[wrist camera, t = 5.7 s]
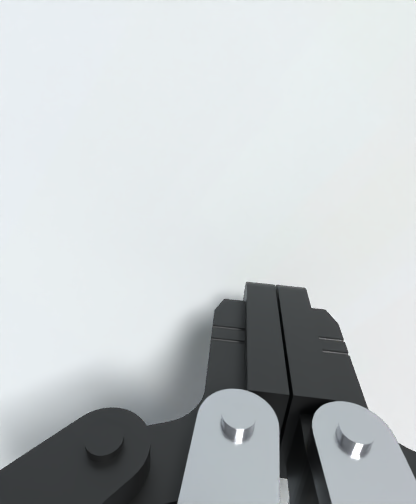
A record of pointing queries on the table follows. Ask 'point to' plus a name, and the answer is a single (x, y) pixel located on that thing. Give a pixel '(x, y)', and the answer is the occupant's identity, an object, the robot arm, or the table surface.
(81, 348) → the table surface
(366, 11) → the table surface
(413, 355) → the table surface
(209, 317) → the table surface
